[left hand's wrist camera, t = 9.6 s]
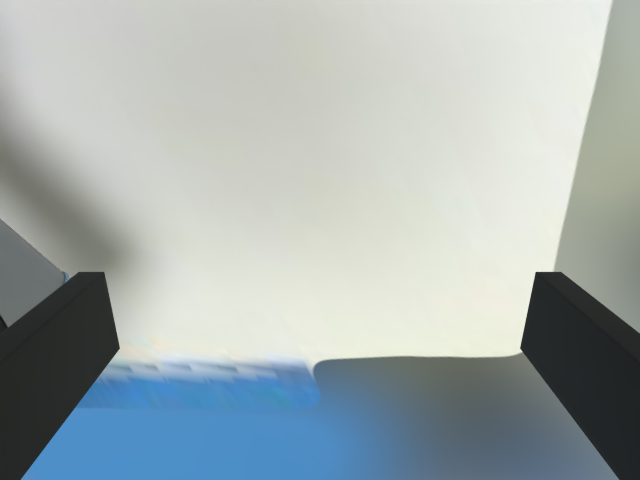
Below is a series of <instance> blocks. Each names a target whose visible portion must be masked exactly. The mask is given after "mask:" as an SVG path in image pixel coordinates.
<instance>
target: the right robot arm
mask: <svg viewBox="0 0 640 480" xmlns="http://www.w3.org/2000/svg"><path fill="white" fill-rule="evenodd" d="M68 280H69V278H68V274H66V273H65V272H61V271H60V270H59V269H58V268H57V267H56V266H54V265H53V264H52V263H51V262H50V261H49V260H47V259H46V258H45V257H44V256H43V255H42V254H41V253H39V252H38V251H37V250H36V249H35V248H34V247H32V246H31V245H30V244H29V243H28V242H27V241H26V240H24V239H23V238H22V237H21V236H20V235H19V234H17V233H16V232H15V231H14V230H13V229H12V228H11V227H9V226H8V225H7V224H6V223H5V222H4V221H2V220H1V219H0V333H2V332H3V331H4V330H6V329H7V328H8V327H9V326H11V325H12V324H13V323H14V322H16V321H17V320H18V319H20V318H21V317H22V316H23V315H25V314H26V313H27V312H29V311H30V310H31V309H32V308H34V307H35V306H36V305H37V304H39V303H40V302H41V301H43V300H44V299H45V298H46V297H48V296H49V295H50V294H52V293H53V292H54V291H55V290H57V289H58V288H59V287H60V286H62V285H63V284H64V283H66V282H67V281H68Z"/></svg>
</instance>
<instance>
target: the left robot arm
mask: <svg viewBox="0 0 640 480" xmlns="http://www.w3.org/2000/svg"><path fill="white" fill-rule="evenodd" d="M119 349H120V347H119V342H118V337H117V332H116V327H115V323H114V318H113V313H112V308H111V303H110V298H109V293H108V288H107V283H106V279H105V274H104V272H78V273H77V274H76V275H75V276H73V277H72V278H71V279H69V280H68V281H67V282H66V283H64V284H63V285H62V286H60V287H59V288H58V289H57V290H55V291H54V292H53V293H52V294H50V295H49V296H48V297H46V298H45V299H44V300H43V301H41V302H40V303H39V304H37V305H36V306H35V307H34V308H32V309H31V310H30V311H29V312H27V313H26V314H25V315H23V316H22V317H21V318H20V319H18V320H17V321H16V322H14V323H13V324H12V325H11V326H9V327H8V328H7V329H6V330H4V331H3V332H2V333H0V480H21V478H22V477H23V476H24V474H25V473H26V472H27V470H28V469H29V468H30V466H31V465H32V464H33V462H34V461H35V460H36V459H37V457H38V456H39V455H40V453H41V452H42V451H43V449H44V448H45V447H46V445H47V444H48V443H49V441H50V440H51V439H52V437H53V436H54V435H55V433H56V432H57V431H58V429H59V428H60V427H61V425H62V424H63V423H64V421H65V420H66V419H67V418H68V416H69V415H70V414H71V412H72V411H73V410H74V408H75V407H76V406H77V404H78V403H79V402H80V400H81V399H82V398H83V396H84V395H85V394H86V392H87V391H88V390H89V388H90V387H91V386H92V384H93V383H94V382H95V380H96V379H97V378H98V376H99V375H100V374H101V373H102V371H103V370H104V369H105V367H106V366H107V365H108V363H109V362H110V361H111V359H112V358H113V357H114V355H115V354H116V353H117V351H118V350H119ZM520 349H521V350H522V351H523V353H524V354H525V355H526V357H527V358H528V359H529V361H530V362H531V363H532V365H533V366H534V367H535V369H536V370H537V371H538V373H539V374H540V375H541V376H542V378H543V379H544V380H545V382H546V383H547V384H548V386H549V387H550V388H551V390H552V391H553V392H554V394H555V395H556V396H557V398H558V399H559V400H560V402H561V403H562V404H563V406H564V407H565V408H566V410H567V411H568V412H569V414H570V415H571V416H572V417H573V419H574V420H575V421H576V423H577V424H578V425H579V427H580V428H581V429H582V431H583V432H584V433H585V435H586V436H587V437H588V439H589V440H590V441H591V443H592V444H593V445H594V447H595V448H596V449H597V451H598V452H599V453H600V455H601V456H602V457H603V459H604V460H605V461H606V462H607V464H608V465H609V466H610V468H611V469H612V470H613V472H614V473H615V474H616V476H617V477H618V478H619V480H640V333H638V332H637V331H636V330H634V329H633V328H632V327H631V326H629V325H628V324H627V323H625V322H624V321H623V320H622V319H620V318H619V317H618V316H617V315H615V314H614V313H613V312H611V311H610V310H609V309H608V308H606V307H605V306H604V305H603V304H601V303H600V302H599V301H597V300H596V299H595V298H594V297H592V296H591V295H590V294H588V293H587V292H586V291H585V290H583V289H582V288H581V287H580V286H578V285H577V284H576V283H574V282H573V281H572V280H571V279H569V278H568V277H567V276H565V275H564V274H563V273H562V272H536V274H535V279H534V283H533V288H532V293H531V298H530V303H529V308H528V313H527V318H526V323H525V327H524V332H523V337H522V342H521V347H520Z"/></svg>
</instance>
